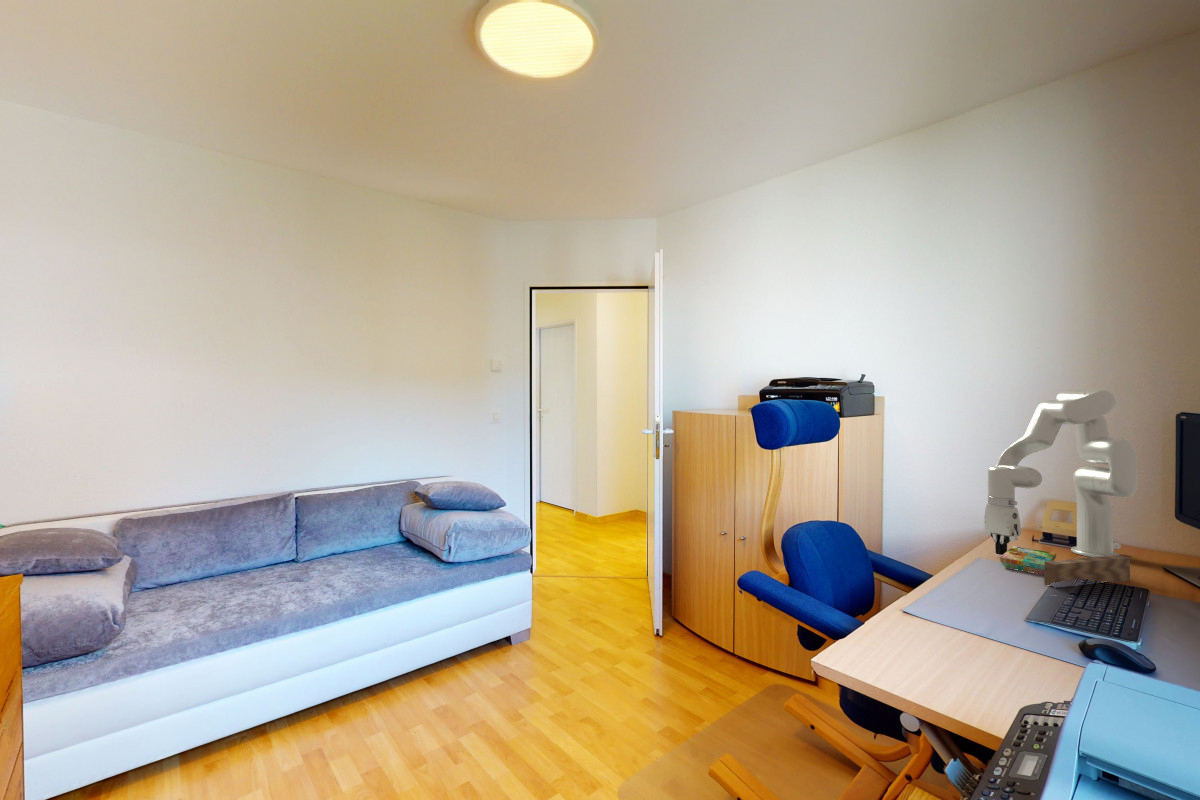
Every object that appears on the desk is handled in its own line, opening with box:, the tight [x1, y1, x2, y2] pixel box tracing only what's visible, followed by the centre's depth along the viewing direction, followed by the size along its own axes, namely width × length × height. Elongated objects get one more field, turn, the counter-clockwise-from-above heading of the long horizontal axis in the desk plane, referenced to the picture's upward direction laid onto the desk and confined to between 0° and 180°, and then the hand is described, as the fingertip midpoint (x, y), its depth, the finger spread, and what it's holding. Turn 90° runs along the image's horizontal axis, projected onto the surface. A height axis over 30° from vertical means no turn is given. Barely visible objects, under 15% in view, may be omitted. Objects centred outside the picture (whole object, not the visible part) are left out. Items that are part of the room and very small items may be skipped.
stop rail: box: [1043, 554, 1131, 586], centre depth 159 cm, size 30×3×7 cm, turn 104°
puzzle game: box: [999, 545, 1057, 575], centre depth 175 cm, size 12×5×20 cm
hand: (1001, 553), depth 184 cm, fingers closed
